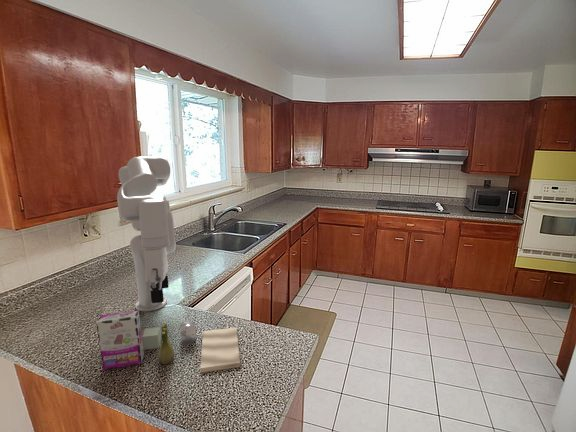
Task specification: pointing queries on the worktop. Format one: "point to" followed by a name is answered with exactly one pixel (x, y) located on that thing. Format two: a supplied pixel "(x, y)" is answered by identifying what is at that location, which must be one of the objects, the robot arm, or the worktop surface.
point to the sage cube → (151, 338)
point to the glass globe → (188, 332)
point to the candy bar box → (120, 339)
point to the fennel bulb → (165, 348)
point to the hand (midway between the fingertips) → (160, 294)
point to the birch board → (219, 350)
